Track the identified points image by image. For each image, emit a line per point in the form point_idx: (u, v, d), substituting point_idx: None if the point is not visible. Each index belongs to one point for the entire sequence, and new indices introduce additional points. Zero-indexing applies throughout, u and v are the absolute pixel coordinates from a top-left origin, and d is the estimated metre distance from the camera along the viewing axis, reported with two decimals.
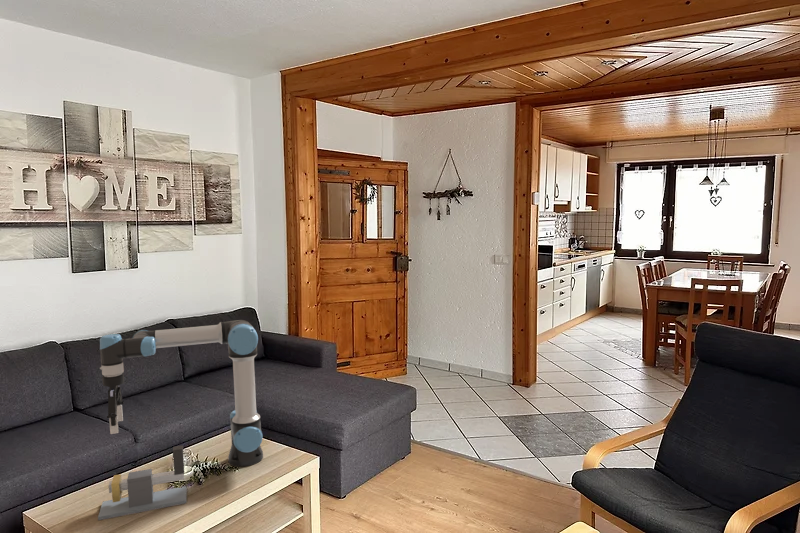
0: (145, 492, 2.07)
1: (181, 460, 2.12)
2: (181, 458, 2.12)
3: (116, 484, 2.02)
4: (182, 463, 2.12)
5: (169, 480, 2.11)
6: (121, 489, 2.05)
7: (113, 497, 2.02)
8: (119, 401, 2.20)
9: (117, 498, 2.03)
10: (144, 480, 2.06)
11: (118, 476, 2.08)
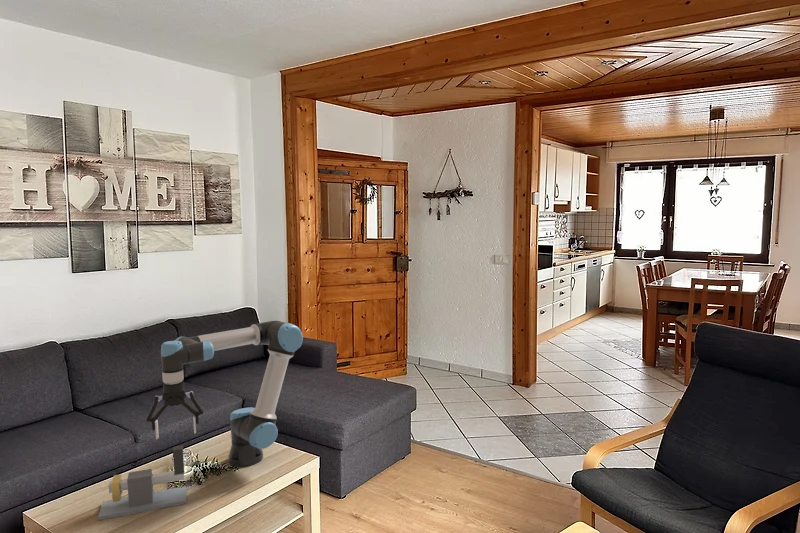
0: (145, 492, 2.07)
1: (181, 460, 2.12)
2: (181, 458, 2.12)
3: (116, 484, 2.02)
4: (182, 463, 2.12)
5: (169, 480, 2.11)
6: (121, 489, 2.05)
7: (113, 497, 2.02)
8: None
9: (117, 498, 2.03)
10: (144, 480, 2.06)
11: (118, 476, 2.08)
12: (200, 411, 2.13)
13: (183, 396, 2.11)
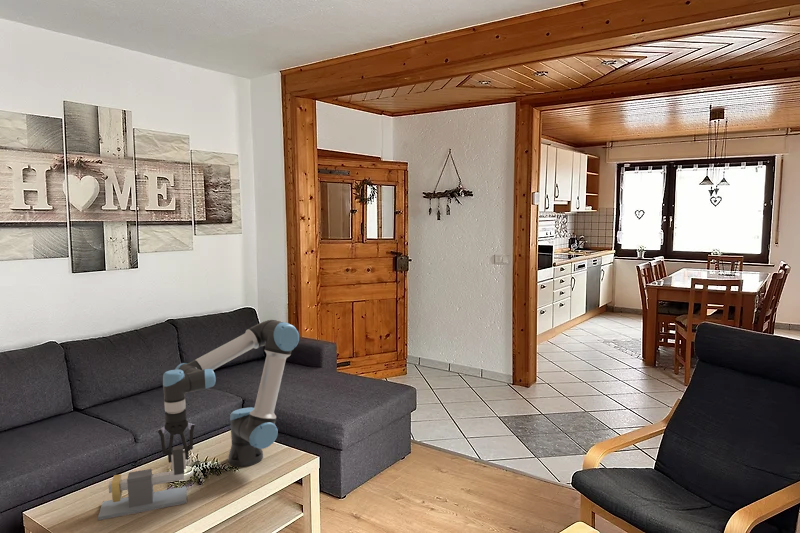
0: (145, 492, 2.07)
1: (181, 460, 2.12)
2: (181, 458, 2.12)
3: (116, 484, 2.02)
4: (182, 463, 2.12)
5: (169, 480, 2.11)
6: (121, 489, 2.05)
7: (113, 497, 2.02)
8: None
9: (117, 498, 2.03)
10: (144, 480, 2.06)
11: (118, 476, 2.08)
12: (191, 446, 2.13)
13: (185, 425, 2.12)
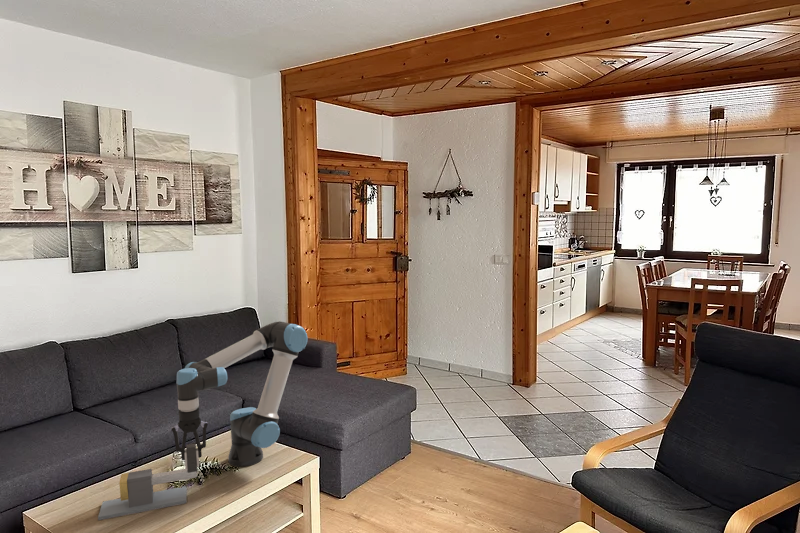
0: (145, 492, 2.07)
1: (194, 458, 2.14)
2: (194, 456, 2.13)
3: (124, 482, 2.03)
4: (195, 461, 2.14)
5: (182, 478, 2.13)
6: None
7: (121, 495, 2.03)
8: (196, 443, 2.14)
9: (125, 496, 2.04)
10: (144, 480, 2.06)
11: (126, 475, 2.08)
12: (204, 444, 2.15)
13: (198, 423, 2.14)
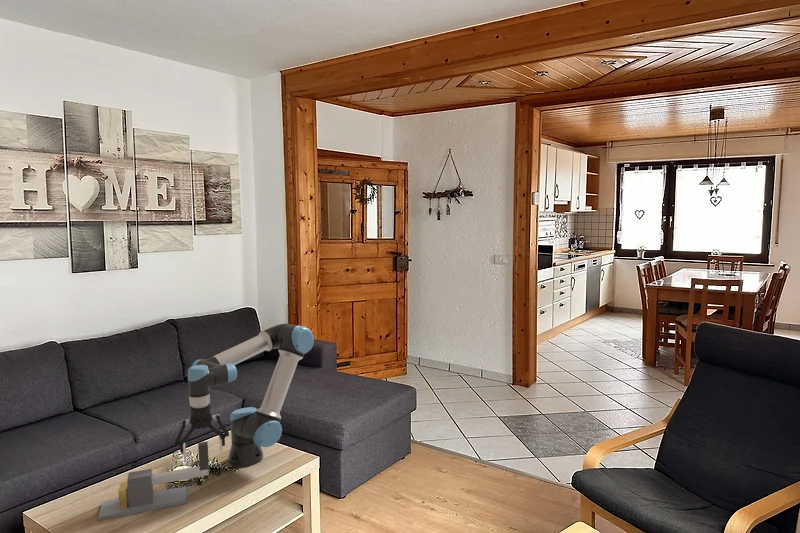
0: (145, 492, 2.07)
1: (206, 456, 2.15)
2: (206, 454, 2.15)
3: (123, 492, 2.04)
4: (207, 459, 2.15)
5: (194, 475, 2.14)
6: None
7: (120, 505, 2.04)
8: None
9: (124, 506, 2.04)
10: (144, 480, 2.06)
11: (125, 483, 2.09)
12: (226, 433, 2.18)
13: (210, 419, 2.15)
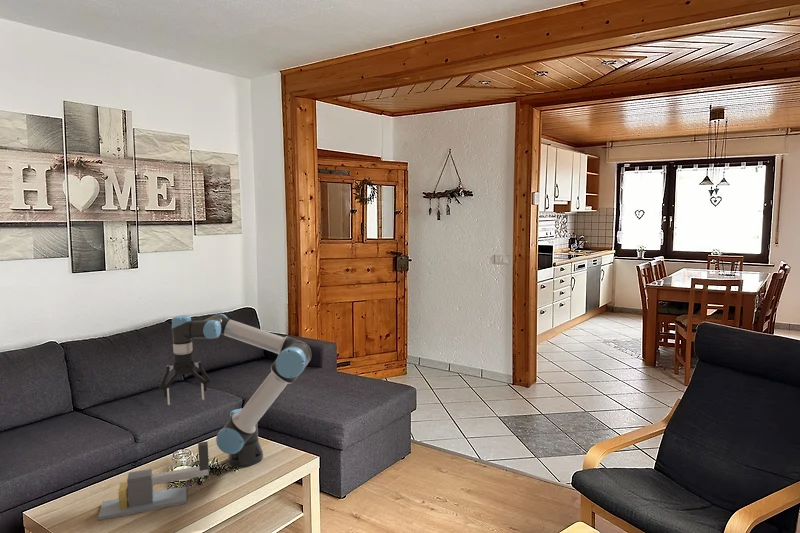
0: (145, 492, 2.07)
1: (206, 456, 2.15)
2: (206, 454, 2.15)
3: (123, 492, 2.04)
4: (207, 459, 2.15)
5: (194, 475, 2.14)
6: None
7: (120, 505, 2.04)
8: (200, 380, 2.33)
9: (124, 506, 2.04)
10: (144, 480, 2.06)
11: (125, 483, 2.09)
12: (208, 379, 2.34)
13: (192, 366, 2.31)
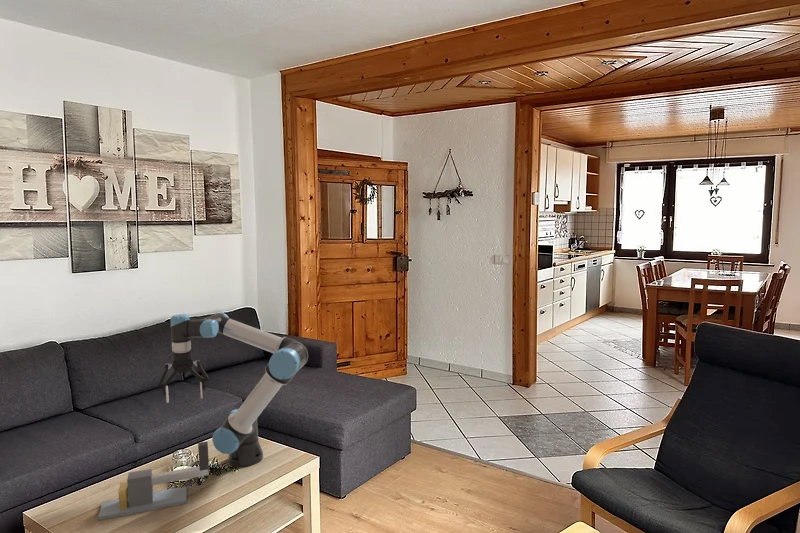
0: (145, 492, 2.07)
1: (206, 456, 2.15)
2: (206, 454, 2.15)
3: (123, 492, 2.04)
4: (207, 459, 2.15)
5: (194, 475, 2.14)
6: None
7: (120, 505, 2.04)
8: None
9: (124, 506, 2.04)
10: (144, 480, 2.06)
11: (125, 483, 2.09)
12: (206, 378, 2.35)
13: (191, 364, 2.33)
